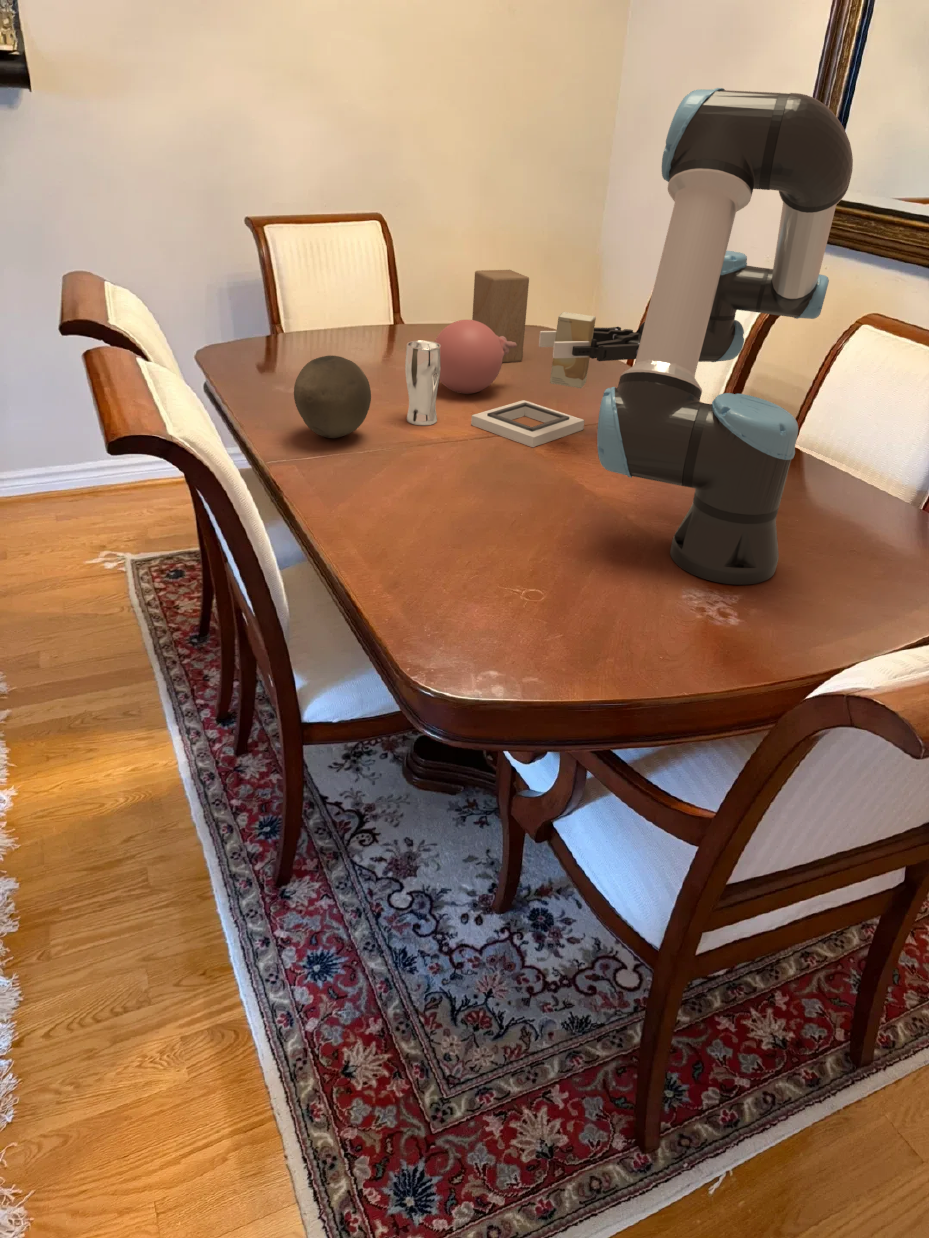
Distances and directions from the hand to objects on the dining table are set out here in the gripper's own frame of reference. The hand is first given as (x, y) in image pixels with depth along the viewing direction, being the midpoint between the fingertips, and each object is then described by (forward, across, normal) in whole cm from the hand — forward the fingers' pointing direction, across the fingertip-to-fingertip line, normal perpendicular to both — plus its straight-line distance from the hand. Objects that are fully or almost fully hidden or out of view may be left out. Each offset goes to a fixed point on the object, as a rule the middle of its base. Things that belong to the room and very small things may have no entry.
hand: (547, 344), depth 153 cm
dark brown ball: (+38, +8, -19) cm, 43 cm away
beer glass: (+19, +16, -19) cm, 31 cm away
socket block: (-1, +9, -19) cm, 21 cm away
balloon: (+3, +33, -19) cm, 39 cm away
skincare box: (-5, 0, -7) cm, 9 cm away
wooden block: (-10, +60, -19) cm, 64 cm away
